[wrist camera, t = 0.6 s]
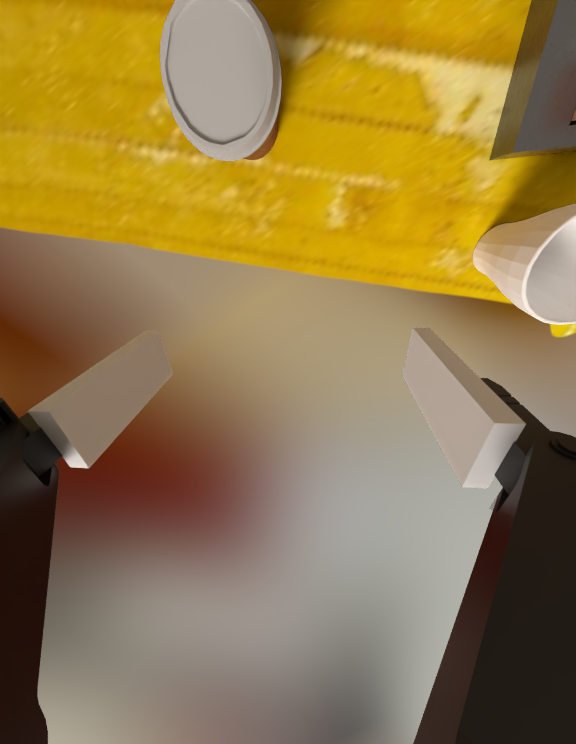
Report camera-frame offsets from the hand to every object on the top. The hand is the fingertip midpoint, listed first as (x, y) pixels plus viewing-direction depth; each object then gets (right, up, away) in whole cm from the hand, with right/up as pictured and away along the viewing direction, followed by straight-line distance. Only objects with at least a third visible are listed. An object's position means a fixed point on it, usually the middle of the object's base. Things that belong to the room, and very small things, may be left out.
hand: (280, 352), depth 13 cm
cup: (+28, +15, +20) cm, 38 cm away
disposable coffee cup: (-4, +28, +16) cm, 32 cm away
